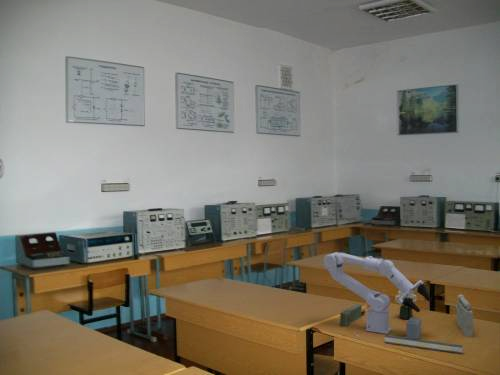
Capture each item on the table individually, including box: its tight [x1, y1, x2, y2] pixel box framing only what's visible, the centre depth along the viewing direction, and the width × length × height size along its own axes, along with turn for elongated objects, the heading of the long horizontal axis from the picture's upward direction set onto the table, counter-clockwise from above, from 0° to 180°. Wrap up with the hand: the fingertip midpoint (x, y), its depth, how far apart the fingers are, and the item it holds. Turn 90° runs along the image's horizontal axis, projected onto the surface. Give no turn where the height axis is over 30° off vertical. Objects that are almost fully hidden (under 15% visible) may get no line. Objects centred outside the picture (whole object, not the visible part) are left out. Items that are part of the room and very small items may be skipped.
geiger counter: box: [454, 294, 475, 338], centre depth 236 cm, size 14×6×25 cm
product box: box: [405, 317, 422, 339], centre depth 225 cm, size 5×9×7 cm, turn 152°
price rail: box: [384, 334, 464, 355], centre depth 211 cm, size 30×2×3 cm, turn 61°
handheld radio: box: [339, 302, 366, 327], centre depth 251 cm, size 7×3×25 cm
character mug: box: [394, 290, 418, 320], centre depth 253 cm, size 11×7×13 cm, turn 98°
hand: (425, 306), depth 223 cm, fingers open, 7 cm apart
